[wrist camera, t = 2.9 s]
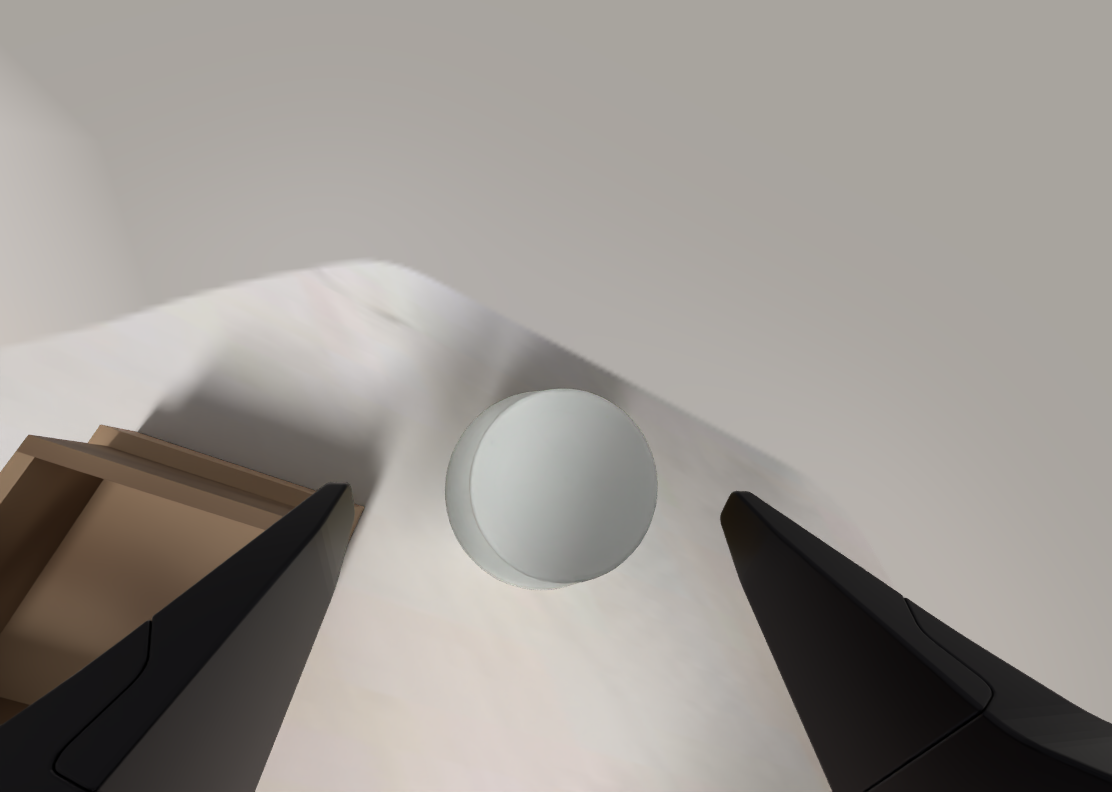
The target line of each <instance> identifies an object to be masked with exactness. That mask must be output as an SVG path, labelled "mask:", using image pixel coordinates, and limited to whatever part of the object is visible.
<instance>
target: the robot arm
mask: <svg viewBox="0 0 1112 792" xmlns="http://www.w3.org/2000/svg"><path fill="white" fill-rule="evenodd" d="M354 516H355V508H354V502H353V496H352V490H351V486H350V484H349V483H346V482H330V483H327V484H325V485H324V486H323V487H321V488H320V489H319V490H317V491H316V492H315V493H313V494H312V495H311V496H310V497H308V498H307V499H306V500H304V501H303V502H302V503H300V504H299V505H298V506H296V507H295V508H294V509H292V510H291V511H290V512H289V513H287V514H286V515H285V516H283V517H282V518H281V519H279V520H278V521H277V522H275V523H274V524H273V525H271V526H270V527H269V528H268V529H266V530H265V531H264V532H262V533H261V534H260V535H258V536H257V537H256V538H254V539H253V540H252V541H250V542H249V543H248V544H247V545H245V546H244V547H243V548H241V549H240V550H239V551H237V552H236V553H235V554H233V555H232V556H231V557H229V558H228V559H227V560H226V561H224V562H223V563H222V564H220V565H219V566H218V567H216V568H215V569H214V570H212V571H211V572H210V573H208V574H207V575H206V576H205V577H203V578H202V579H201V580H199V581H198V582H197V583H195V584H194V585H193V586H191V587H190V588H189V589H187V590H186V591H185V592H184V593H182V594H181V595H180V596H178V597H177V598H176V599H174V600H173V601H172V602H170V603H169V604H168V605H166V606H165V607H164V608H163V609H161V610H160V611H159V612H157V613H156V614H155V615H153V617H152V620H147V621H145V622H144V623H143V624H141V625H140V626H139V627H137V628H136V629H135V630H133V631H132V632H131V633H129V634H128V635H127V636H126V637H124V638H123V639H122V640H120V641H119V642H118V643H116V644H115V645H114V646H112V647H111V648H109V649H108V650H107V651H105V652H104V653H103V654H101V655H100V656H99V657H97V658H96V659H95V660H93V661H92V662H90V663H89V664H88V665H86V666H85V667H84V668H82V669H81V670H80V671H78V672H77V673H76V674H74V675H73V676H71V677H70V678H68V679H67V680H65V681H64V682H63V683H61V684H60V685H58V686H57V687H55V688H54V689H53V690H51V691H50V692H48V693H47V694H45V695H44V696H43V697H41V698H40V699H38V700H37V701H35V702H34V703H32V704H31V705H30V706H28V707H27V708H25V709H24V710H22V711H21V712H19V713H18V714H17V715H15V716H14V717H12V718H11V719H9V720H8V721H6V722H5V723H3V724H2V725H0V792H255V790H256V787H257V785H258V782H259V780H260V777H261V775H262V772H263V770H264V767H265V765H266V762H267V760H268V757H269V755H270V752H271V750H272V747H273V745H274V742H275V740H276V737H277V735H278V732H279V730H280V727H281V724H282V722H283V719H284V717H285V714H286V712H287V709H288V707H289V704H290V702H291V699H292V697H293V694H294V692H295V689H296V687H297V684H298V682H299V679H300V677H301V674H302V672H303V669H304V667H305V664H306V662H307V659H308V657H309V654H310V652H311V649H312V646H313V644H314V641H315V639H316V636H317V634H318V631H319V629H320V626H321V624H322V621H323V619H324V616H325V614H326V611H327V609H328V606H329V604H330V601H331V598H332V596H333V593H334V590H335V587H336V584H337V580H338V577H339V573H340V570H341V566H342V562H343V558H344V555H345V551H346V547H347V544H348V540H349V536H350V533H351V529H352V525H353V522H354ZM720 521H721V526H722V529H723V532H724V535H725V538H726V541H727V544H728V547H729V550H730V553H731V556H732V559H733V562H734V565H735V568H736V571H737V574H738V577H739V579H740V582H741V584H742V587H743V589H744V592H745V594H746V596H747V599H748V601H749V603H750V605H751V608H752V610H753V612H754V614H755V617H756V619H757V621H758V624H759V626H760V628H761V630H762V633H763V635H764V637H765V639H766V642H767V644H768V646H769V649H770V651H771V653H772V655H773V658H774V660H775V662H776V664H777V667H778V669H779V671H780V674H781V676H782V678H783V680H784V683H785V685H786V687H787V689H788V692H789V694H790V696H791V699H792V701H793V703H794V705H795V708H796V710H797V712H798V714H799V717H800V719H801V721H802V724H803V726H804V728H805V730H806V733H807V735H808V737H809V739H810V742H811V744H812V746H813V749H814V751H815V753H816V755H817V758H818V760H819V762H820V764H821V767H822V769H823V771H824V774H825V776H826V778H827V780H828V783H829V785H830V787H831V789H832V792H1112V724H1111V723H1109V722H1107V721H1104V720H1102V719H1100V718H1098V717H1096V716H1095V715H1093V714H1091V713H1089V712H1087V711H1085V710H1083V709H1082V708H1080V707H1078V706H1076V705H1075V704H1073V703H1071V702H1069V701H1068V700H1066V699H1065V698H1063V697H1062V696H1060V695H1058V694H1057V693H1055V692H1053V691H1052V690H1050V689H1048V688H1047V687H1045V686H1044V685H1042V684H1041V683H1039V682H1037V681H1036V680H1034V679H1032V678H1031V677H1029V676H1027V675H1026V674H1024V673H1023V672H1021V671H1019V670H1018V669H1016V668H1015V667H1013V666H1011V665H1010V664H1008V663H1006V662H1005V661H1003V660H1002V659H1000V658H998V657H997V656H995V655H993V654H992V653H990V652H989V651H987V650H985V649H984V648H982V647H981V646H979V645H977V644H976V643H974V642H972V641H971V640H969V639H968V638H966V637H965V636H963V635H962V634H960V633H958V632H957V631H955V630H954V629H952V628H951V627H949V626H948V625H946V624H944V623H943V622H942V621H940V620H938V619H937V618H935V617H934V616H932V615H931V614H930V613H928V612H926V611H925V610H924V609H922V608H921V607H919V606H918V605H916V604H915V603H913V602H912V601H910V600H909V599H907V598H904V597H903V596H902V595H901V594H900V593H898V592H897V591H895V590H894V589H892V588H891V587H890V586H888V585H887V584H885V583H884V582H882V581H881V580H879V579H878V578H876V577H875V576H873V575H872V574H870V573H869V572H867V571H866V570H864V569H863V568H861V567H860V566H858V565H857V564H856V563H854V562H853V561H851V560H850V559H848V558H847V557H845V556H844V555H842V554H841V553H839V552H838V551H836V550H835V549H833V548H832V547H830V546H829V545H827V544H826V543H825V542H823V541H822V540H820V539H819V538H817V537H816V536H814V535H813V534H811V533H810V532H808V531H807V530H805V529H804V528H802V527H801V526H799V525H798V524H796V523H795V522H793V521H792V520H791V519H789V518H788V517H786V516H785V515H783V514H782V513H780V512H779V511H777V510H776V509H774V508H773V507H771V506H770V505H768V504H767V503H765V502H764V501H762V500H761V499H760V498H758V497H757V496H755V495H754V494H752V493H750V492H747V491H734V492H732V493H731V494H730V496H729V498H728V500H727V502H726V504H725V506H724V508H723V510H722V512H721V516H720Z"/></svg>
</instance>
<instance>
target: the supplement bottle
mask: <svg viewBox="0 0 1112 792" xmlns="http://www.w3.org/2000/svg"><path fill="white" fill-rule="evenodd" d="M656 499H657V473H656V467H655V463H654V459H653V455H652V452H651V450H650V448H649V445H648V443H647V441H646V439H645V437H644V435H643V434H642V432H641V431H640V429H639V428H638V426H637V425H636V424H635V423H634V422H633V420H632V419H631V418H630V417H629V416H628V415H627V414H626V413H625V412H624V411H623V410H621V409H620V408H619V407H617V406H616V405H615V404H613V403H612V402H610V401H608V400H607V399H605V398H603V397H601V396H598V395H596V394H593V393H590V392H587V391H582V390H577V389H566V388H557V389H549V390H543V391H533V392H525V393H521V394H517V395H513V396H511V397H508V398H505V399H503V400H501V401H499V402H497V403H495V404H494V405H492V406H491V407H489V408H488V409H486V410H485V411H484V412H482V413H481V414H480V415H479V416H478V417H477V418H476V419H475V420H474V421H473V422H472V423H471V424H470V425H469V426H468V427H467V428H466V430H465V431H464V433H463V434H462V436H461V437H460V439H459V441H458V442H457V444H456V446H455V448H454V451H453V453H452V455H451V458H450V462H449V465H448V470H447V474H446V484H445V500H446V508H447V513H448V517H449V521H450V524H451V527H452V529H453V532H454V534H455V536H456V538H457V540H458V542H459V543H460V545H461V546H462V548H463V550H464V551H465V552H466V553H467V555H468V556H469V557H470V558H471V559H472V560H473V561H474V562H475V563H476V564H477V565H478V566H479V567H480V568H481V569H483V570H484V571H485V572H487V573H488V574H490V575H491V576H493V577H494V578H496V579H498V580H500V581H502V582H505V583H507V584H510V585H512V586H516V587H520V588H525V589H531V590H551V589H558V588H563V587H567V586H570V585H573V584H576V583H579V582H584V581H588V580H591V579H595V578H597V577H599V576H602V575H604V574H606V573H608V572H610V571H612V570H613V569H615V568H616V567H618V566H619V565H620V564H621V563H623V562H624V561H625V560H626V559H627V558H628V557H629V556H630V555H631V554H632V553H633V552H634V551H635V549H636V548H637V547H638V546H639V544H640V543H641V541H642V539H643V538H644V536H645V534H646V533H647V530H648V528H649V526H650V523H651V521H652V517H653V514H654V510H655V507H656Z"/></svg>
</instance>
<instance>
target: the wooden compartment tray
mask: <svg viewBox="0 0 1112 792" xmlns="http://www.w3.org/2000/svg"><path fill="white" fill-rule="evenodd" d="M315 492H316V491H315V490H312V489H309V488H306V487H303V486H300V485H297V484H293V483H290V482H287V481H284V480H281V479H278V478H275V477H272V476H269V475H266V474H263V473H260V472H257V471H254V470H251V469H248V468H245V467H242V466H239V465H236V464H233V463H230V462H227V461H224V460H220V459H217V458H214V457H211V456H208V455H205V454H202V453H199V452H196V451H193V450H190V449H187V448H184V447H181V446H178V445H175V444H172V443H169V442H166V441H163V440H160V439H157V438H154V437H151V436H148V435H144V434H141V433H138V432H135V431H130V430H125V429H120V428H115V427H110V426H105V425H100V426H99V427H98V429H97V430H96V432H95V433H94V435H93V436H92V437H91V439H90V440H89V442H88V443H83V442H76V441H69V440H62V439H55V438H48V437H41V436H34V435H28V436H27V437H26V439H25V440H24V441H23V443H22V444H21V445H20V447H19V448H18V449H17V451H16V452H15V453H14V455H13V456H12V457H11V459H10V460H9V461H8V463H7V464H6V465H5V467H4V468H3V469H2V471H1V472H0V725H2V724H3V723H5V722H6V721H8V720H9V719H11V718H12V717H14V716H15V715H17V714H18V713H19V712H21V711H22V710H24V709H25V708H27V707H28V706H30V705H31V704H32V703H34V702H35V701H37V700H38V699H40V698H41V697H43V696H44V695H45V694H47V693H48V692H50V691H51V690H53V689H54V688H55V687H57V686H58V685H60V684H61V683H63V682H64V681H65V680H67V679H68V678H70V677H71V676H73V675H74V674H76V673H77V672H78V671H80V670H81V669H82V668H84V667H85V666H86V665H88V664H89V663H90V662H92V661H93V660H95V659H96V658H97V657H99V656H100V655H101V654H103V653H104V652H105V651H107V650H108V649H109V648H111V647H112V646H114V645H115V644H116V643H118V642H119V641H120V640H122V639H123V638H124V637H126V636H127V635H128V634H129V633H131V632H132V631H133V630H135V629H136V628H137V627H139V626H140V625H141V624H143V623H144V622H145V621H147V620H152V617H153V615H155V614H156V613H157V612H159V611H160V610H161V609H163V608H164V607H165V606H166V605H168V604H169V603H170V602H172V601H173V600H174V599H176V598H177V597H178V596H180V595H181V594H182V593H184V592H185V591H186V590H187V589H189V588H190V587H191V586H193V585H194V584H195V583H197V582H198V581H199V580H201V579H202V578H203V577H205V576H206V575H207V574H208V573H210V572H211V571H212V570H214V569H215V568H216V567H218V566H219V565H220V564H222V563H223V562H224V561H226V560H227V559H228V558H229V557H231V556H232V555H233V554H235V553H236V552H237V551H239V550H240V549H241V548H243V547H244V546H245V545H247V544H248V543H249V542H250V541H252V540H253V539H254V538H256V537H257V536H258V535H260V534H261V533H262V532H264V531H265V530H266V529H268V528H269V527H270V526H271V525H273V524H274V523H275V522H277V521H278V520H279V519H281V518H282V517H283V516H285V515H286V514H287V513H289V512H290V511H291V510H292V509H294V508H295V507H296V506H298V505H299V504H300V503H302V502H303V501H304V500H306V499H307V498H308V497H310V496H311V495H312V494H313V493H315ZM354 508H355V516H354V522H353V525H352V529H351V533H350V536H349V540H350V538H351V536H352V534H353V531H354V529H355V527H356V525H357V523H358V520H359V518H360V516H361V514H362V512H363V509H364V507H363V506H360V505H357V504H354ZM349 540H348V542H349Z"/></svg>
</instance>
